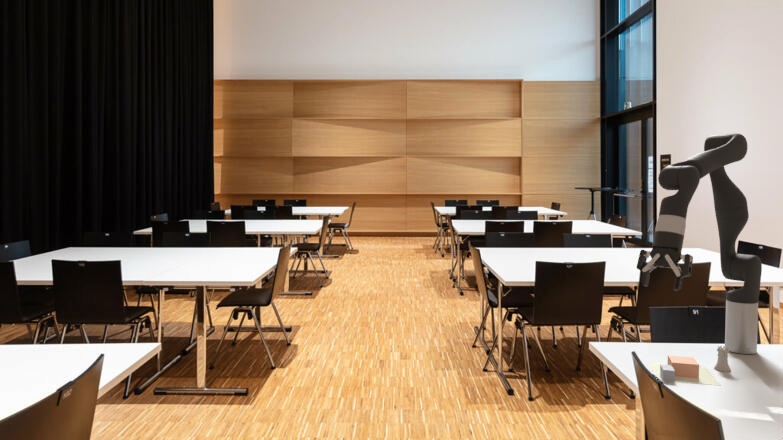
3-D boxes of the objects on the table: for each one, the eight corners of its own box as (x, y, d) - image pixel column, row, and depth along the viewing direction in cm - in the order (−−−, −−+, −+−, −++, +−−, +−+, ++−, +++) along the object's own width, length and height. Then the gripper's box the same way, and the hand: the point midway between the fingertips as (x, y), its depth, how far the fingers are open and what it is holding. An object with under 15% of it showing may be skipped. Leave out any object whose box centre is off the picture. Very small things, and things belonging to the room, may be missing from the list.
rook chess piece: (733, 376, 158) (734, 349, 158) (717, 375, 159) (717, 349, 158) (727, 371, 162) (728, 345, 162) (711, 370, 163) (712, 344, 163)
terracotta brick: (667, 368, 162) (667, 355, 162) (693, 370, 160) (693, 357, 160) (671, 375, 155) (672, 362, 155) (698, 378, 153) (699, 364, 153)
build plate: (649, 365, 168) (649, 362, 168) (706, 370, 163) (706, 367, 163) (657, 383, 153) (657, 379, 153) (720, 389, 148) (720, 385, 148)
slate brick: (660, 374, 157) (660, 364, 157) (671, 375, 156) (671, 365, 156) (663, 380, 152) (663, 369, 152) (674, 381, 151) (675, 370, 151)
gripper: (701, 237, 150) (691, 294, 148) (650, 233, 161) (641, 286, 159) (690, 231, 145) (680, 290, 143) (639, 228, 156) (629, 282, 154)
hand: (660, 288), depth 151 cm, fingers open, 8 cm apart
